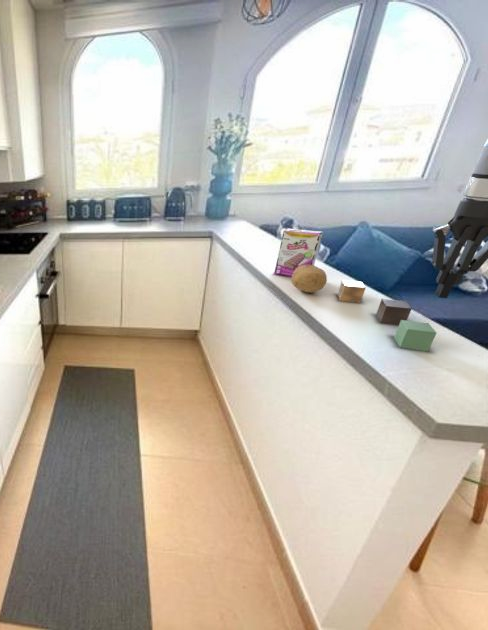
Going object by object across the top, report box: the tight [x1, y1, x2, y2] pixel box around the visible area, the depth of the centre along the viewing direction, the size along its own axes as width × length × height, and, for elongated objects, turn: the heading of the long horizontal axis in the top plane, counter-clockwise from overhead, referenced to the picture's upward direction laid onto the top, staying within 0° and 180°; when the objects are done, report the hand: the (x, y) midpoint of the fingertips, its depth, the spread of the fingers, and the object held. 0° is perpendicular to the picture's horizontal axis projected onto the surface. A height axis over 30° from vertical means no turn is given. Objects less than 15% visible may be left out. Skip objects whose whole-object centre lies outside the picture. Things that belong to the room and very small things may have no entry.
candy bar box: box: [274, 227, 324, 278], centre depth 123 cm, size 11×5×16 cm, turn 46°
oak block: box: [337, 279, 366, 304], centre depth 105 cm, size 5×5×5 cm
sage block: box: [393, 320, 437, 352], centre depth 81 cm, size 5×5×5 cm
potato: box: [291, 264, 328, 293], centre depth 113 cm, size 10×14×8 cm
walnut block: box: [375, 298, 412, 326], centre depth 92 cm, size 5×5×5 cm
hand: (440, 295), depth 86 cm, fingers closed
